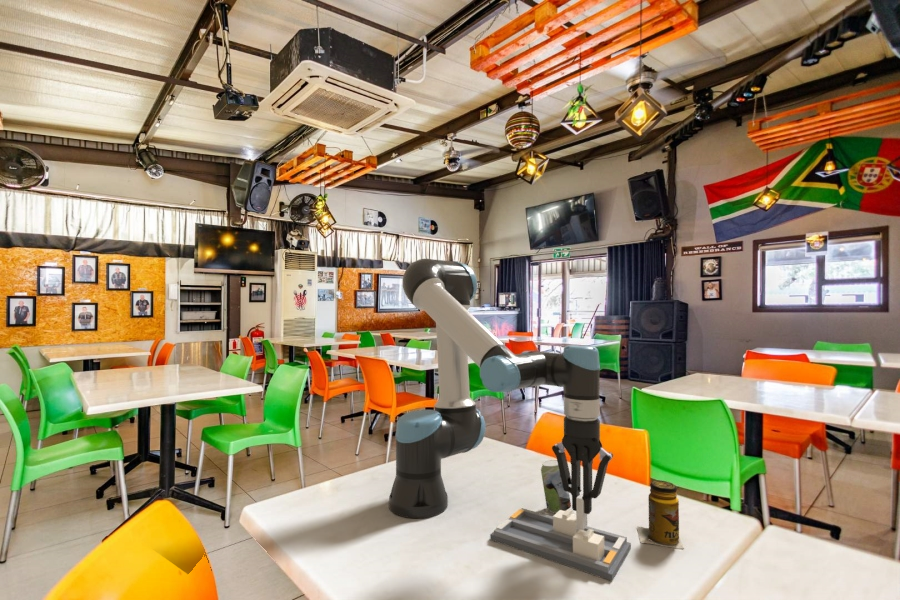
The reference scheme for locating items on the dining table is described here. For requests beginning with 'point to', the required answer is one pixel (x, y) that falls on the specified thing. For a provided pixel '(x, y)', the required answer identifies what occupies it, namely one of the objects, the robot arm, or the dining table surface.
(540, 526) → the switch bank
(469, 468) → the dining table surface
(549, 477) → the beverage can
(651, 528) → the condiment
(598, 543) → the tab
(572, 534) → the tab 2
